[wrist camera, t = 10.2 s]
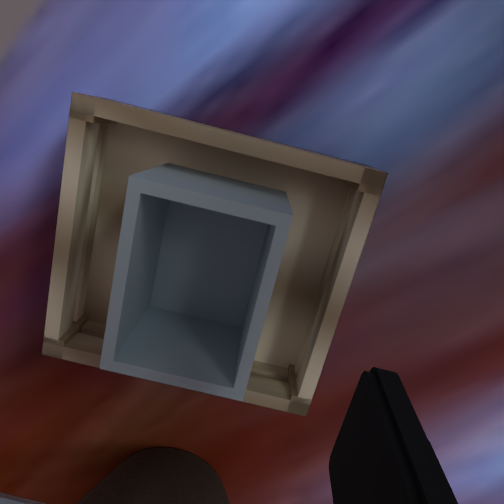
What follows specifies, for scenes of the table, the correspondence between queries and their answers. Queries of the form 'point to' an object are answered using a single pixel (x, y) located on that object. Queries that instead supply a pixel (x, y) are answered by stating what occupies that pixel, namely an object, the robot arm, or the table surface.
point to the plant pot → (159, 480)
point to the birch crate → (223, 164)
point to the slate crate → (193, 278)
